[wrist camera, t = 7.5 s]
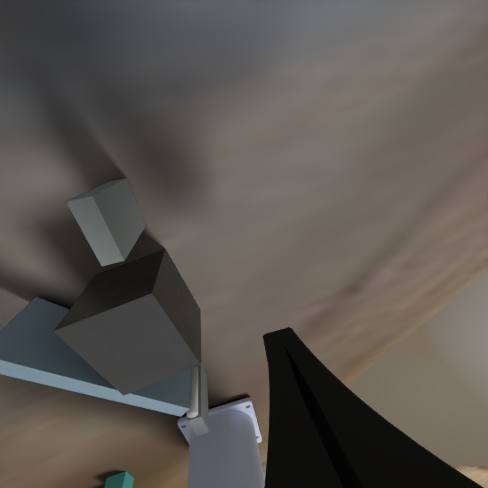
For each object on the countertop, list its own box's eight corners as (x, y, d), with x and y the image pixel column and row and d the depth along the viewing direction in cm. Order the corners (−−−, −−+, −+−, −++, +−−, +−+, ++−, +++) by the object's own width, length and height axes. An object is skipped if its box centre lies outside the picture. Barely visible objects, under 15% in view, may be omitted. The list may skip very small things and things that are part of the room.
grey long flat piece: (207, 376, 21) (209, 432, 17) (196, 379, 21) (196, 436, 17) (126, 177, 13) (92, 196, 9) (108, 181, 12) (65, 201, 8)
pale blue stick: (191, 355, 19) (189, 408, 15) (184, 362, 19) (181, 416, 16) (35, 296, 14) (-23, 353, 10) (29, 307, 14) (-31, 366, 11)
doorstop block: (200, 308, 18) (201, 365, 13) (142, 331, 18) (123, 395, 13) (165, 248, 15) (152, 293, 11) (96, 274, 15) (53, 331, 10)
